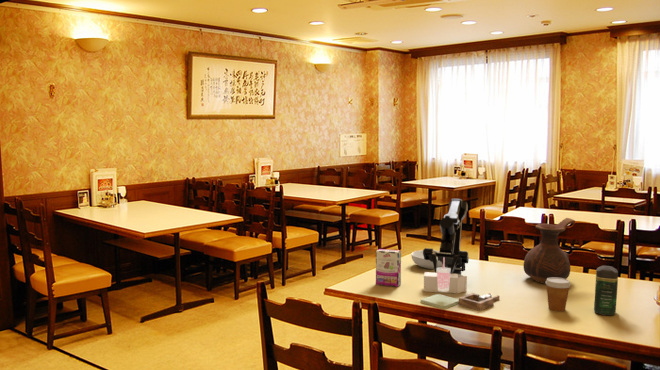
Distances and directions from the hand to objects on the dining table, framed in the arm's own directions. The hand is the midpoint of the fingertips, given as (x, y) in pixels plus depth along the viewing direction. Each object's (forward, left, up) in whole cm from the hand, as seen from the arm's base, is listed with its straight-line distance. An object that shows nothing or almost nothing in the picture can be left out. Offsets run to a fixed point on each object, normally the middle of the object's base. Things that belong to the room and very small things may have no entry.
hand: (443, 272), depth 231 cm
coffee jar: (-39, +51, -13) cm, 65 cm away
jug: (-67, +13, -13) cm, 69 cm away
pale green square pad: (-1, -1, -13) cm, 13 cm away
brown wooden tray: (-13, +11, -13) cm, 21 cm away
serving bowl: (-47, -41, -14) cm, 64 cm away
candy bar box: (-5, -34, -13) cm, 37 cm away
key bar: (-16, +11, -13) cm, 23 cm away
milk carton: (-11, -19, -10) cm, 24 cm away
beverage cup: (-1, -1, -8) cm, 8 cm away
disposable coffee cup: (-29, +36, -13) cm, 48 cm away
